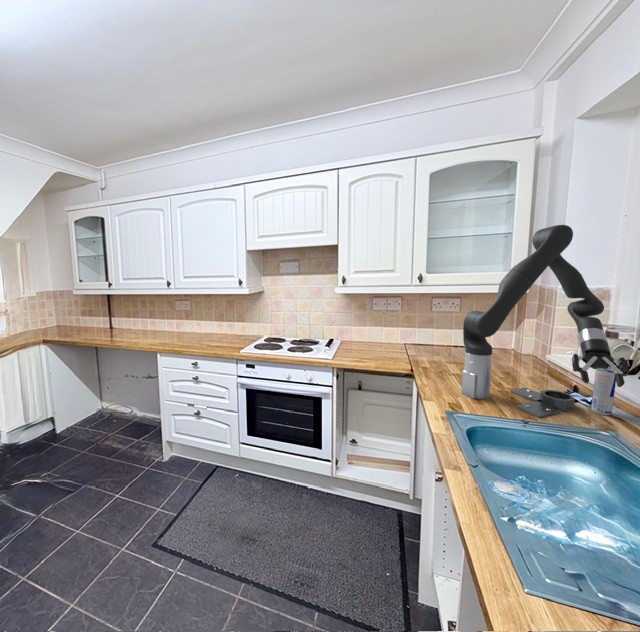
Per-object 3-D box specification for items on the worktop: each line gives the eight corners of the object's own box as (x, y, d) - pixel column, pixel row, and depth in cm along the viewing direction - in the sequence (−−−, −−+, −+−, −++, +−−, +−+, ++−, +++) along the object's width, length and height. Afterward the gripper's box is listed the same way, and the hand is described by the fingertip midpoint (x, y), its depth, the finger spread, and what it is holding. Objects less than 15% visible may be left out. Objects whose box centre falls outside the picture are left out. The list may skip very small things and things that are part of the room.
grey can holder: (540, 418, 96) (541, 407, 96) (490, 396, 114) (491, 386, 114) (579, 408, 103) (580, 397, 102) (525, 389, 120) (526, 379, 120)
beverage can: (615, 414, 98) (621, 371, 96) (605, 417, 96) (610, 373, 94) (597, 408, 103) (602, 366, 100) (587, 410, 101) (591, 368, 99)
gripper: (571, 336, 108) (579, 376, 99) (624, 339, 101) (637, 382, 93) (566, 347, 113) (573, 386, 105) (615, 350, 107) (627, 392, 98)
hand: (603, 384), depth 99 cm, fingers open, 8 cm apart
